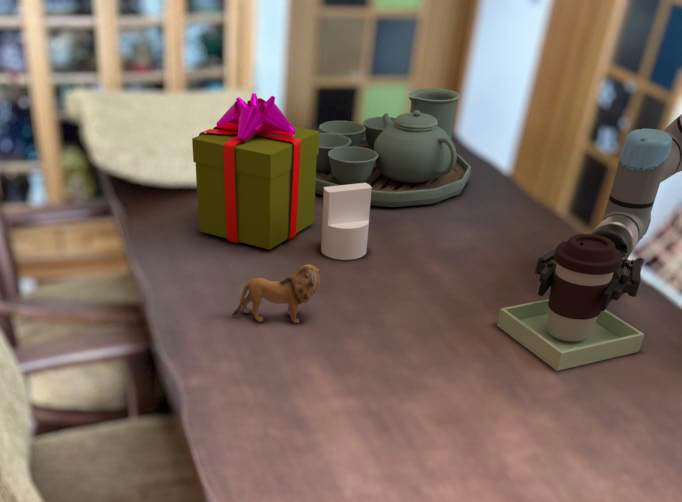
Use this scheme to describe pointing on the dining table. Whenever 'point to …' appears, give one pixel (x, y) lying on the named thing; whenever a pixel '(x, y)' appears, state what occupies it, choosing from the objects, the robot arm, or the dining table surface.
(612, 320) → the tray
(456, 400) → the dining table surface
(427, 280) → the dining table surface
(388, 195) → the tea set
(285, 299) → the lion figurine
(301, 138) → the gift box
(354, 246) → the cylinder with rectangular tab
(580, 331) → the coffee cup
